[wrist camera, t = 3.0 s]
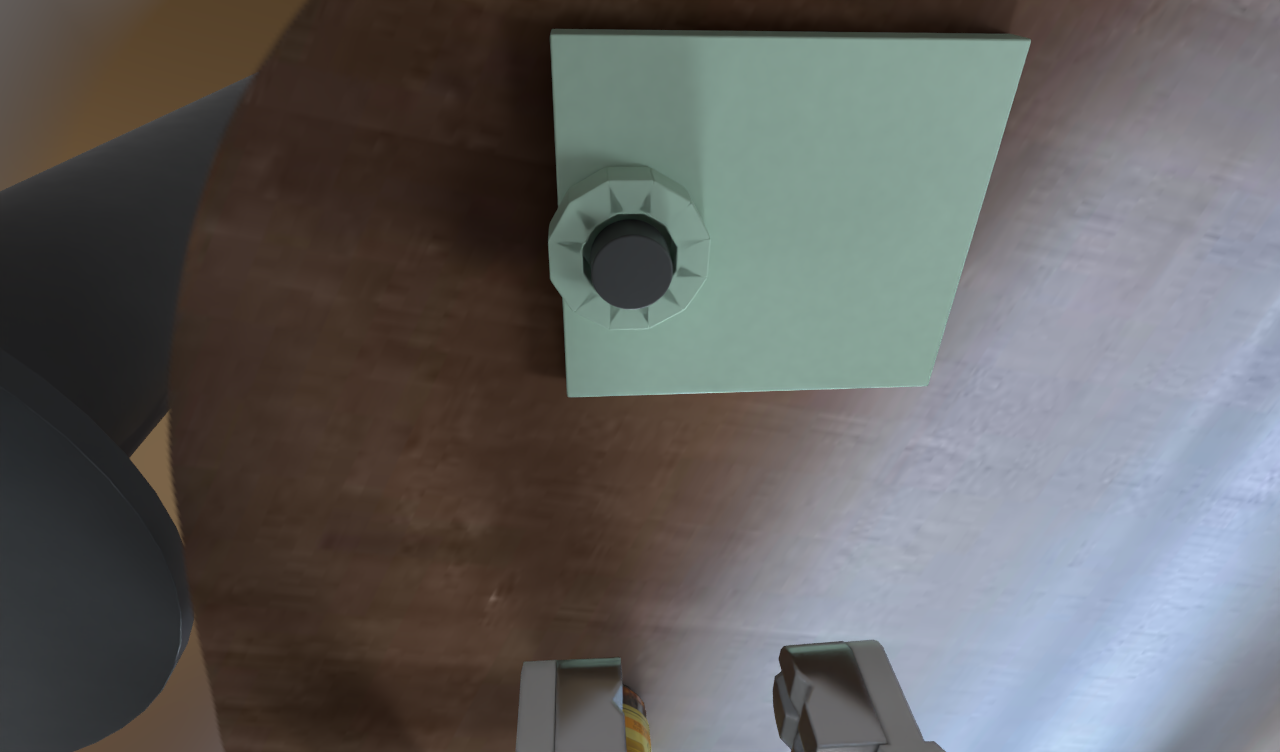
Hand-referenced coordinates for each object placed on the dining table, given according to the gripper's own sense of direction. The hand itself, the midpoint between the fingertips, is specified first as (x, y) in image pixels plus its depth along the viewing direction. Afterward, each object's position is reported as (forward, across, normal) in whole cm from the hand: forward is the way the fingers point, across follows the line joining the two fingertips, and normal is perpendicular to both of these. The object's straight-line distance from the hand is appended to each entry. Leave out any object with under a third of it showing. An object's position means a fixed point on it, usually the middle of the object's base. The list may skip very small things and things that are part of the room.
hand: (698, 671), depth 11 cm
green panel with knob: (+19, -6, 0) cm, 20 cm away
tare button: (+16, 0, 0) cm, 16 cm away
